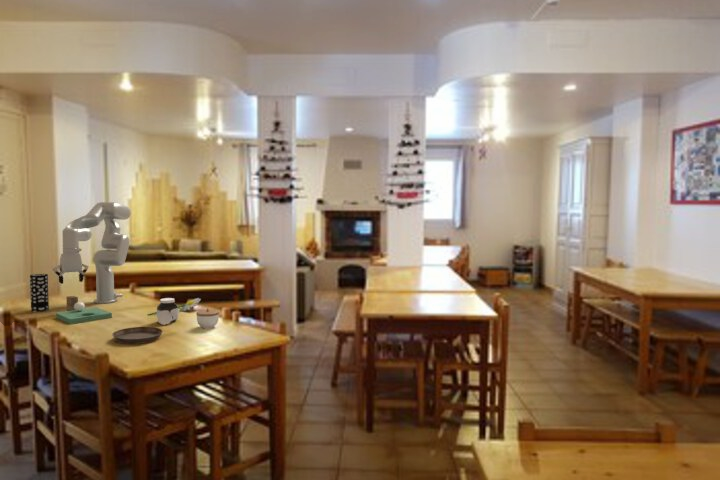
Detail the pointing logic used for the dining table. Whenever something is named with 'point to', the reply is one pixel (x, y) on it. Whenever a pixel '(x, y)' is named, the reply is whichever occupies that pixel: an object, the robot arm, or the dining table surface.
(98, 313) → the putting mat
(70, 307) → the brown block
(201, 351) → the dining table surface
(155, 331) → the plant saucer
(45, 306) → the spotted tube
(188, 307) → the decorative flower
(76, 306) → the ball
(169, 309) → the spread jar
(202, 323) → the lidded jar
